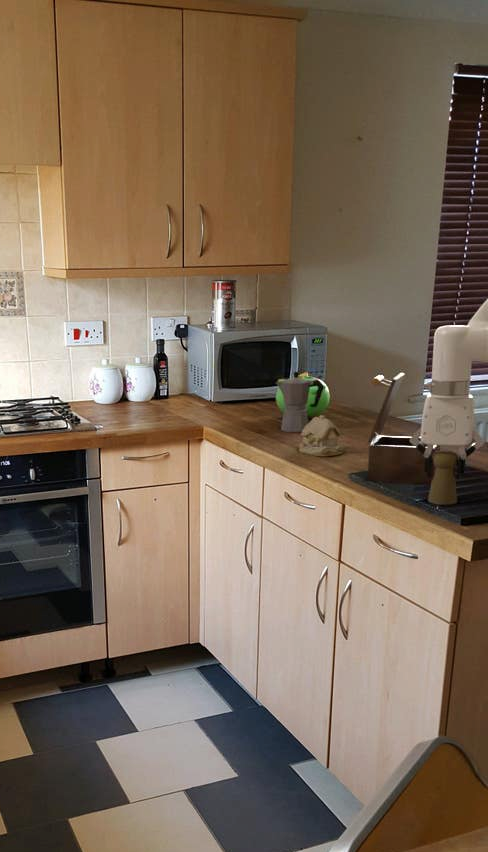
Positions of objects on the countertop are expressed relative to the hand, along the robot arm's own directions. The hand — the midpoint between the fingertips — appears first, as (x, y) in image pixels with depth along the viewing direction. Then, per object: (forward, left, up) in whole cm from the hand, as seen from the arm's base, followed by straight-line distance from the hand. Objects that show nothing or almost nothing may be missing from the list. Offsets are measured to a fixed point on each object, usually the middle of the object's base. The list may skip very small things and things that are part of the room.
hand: (444, 475), depth 184 cm
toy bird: (+57, -104, -6) cm, 119 cm away
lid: (+16, -21, +11) cm, 28 cm away
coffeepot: (+52, -80, -6) cm, 96 cm away
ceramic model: (+37, -48, -6) cm, 61 cm away
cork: (0, 0, -6) cm, 6 cm away
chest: (+11, -21, -6) cm, 24 cm away
